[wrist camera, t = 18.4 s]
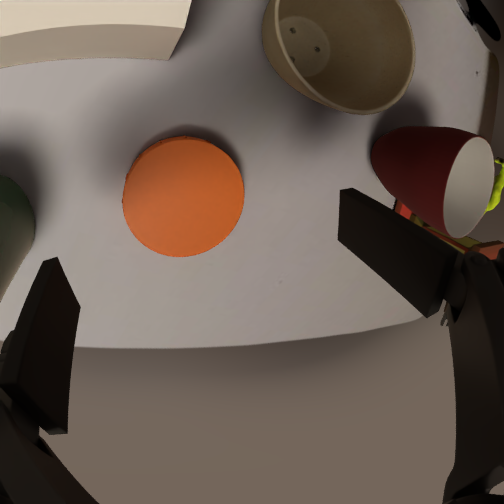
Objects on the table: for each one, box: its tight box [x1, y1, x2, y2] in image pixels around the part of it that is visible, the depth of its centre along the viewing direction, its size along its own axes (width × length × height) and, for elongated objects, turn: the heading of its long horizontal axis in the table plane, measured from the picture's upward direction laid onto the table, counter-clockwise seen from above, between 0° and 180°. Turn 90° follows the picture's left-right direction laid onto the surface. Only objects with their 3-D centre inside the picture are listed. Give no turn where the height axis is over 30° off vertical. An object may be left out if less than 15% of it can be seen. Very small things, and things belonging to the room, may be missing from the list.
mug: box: [371, 126, 494, 239], centre depth 21 cm, size 10×8×10 cm
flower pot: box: [262, 0, 415, 115], centre depth 15 cm, size 10×10×7 cm
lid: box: [122, 135, 244, 257], centre depth 20 cm, size 8×8×2 cm
